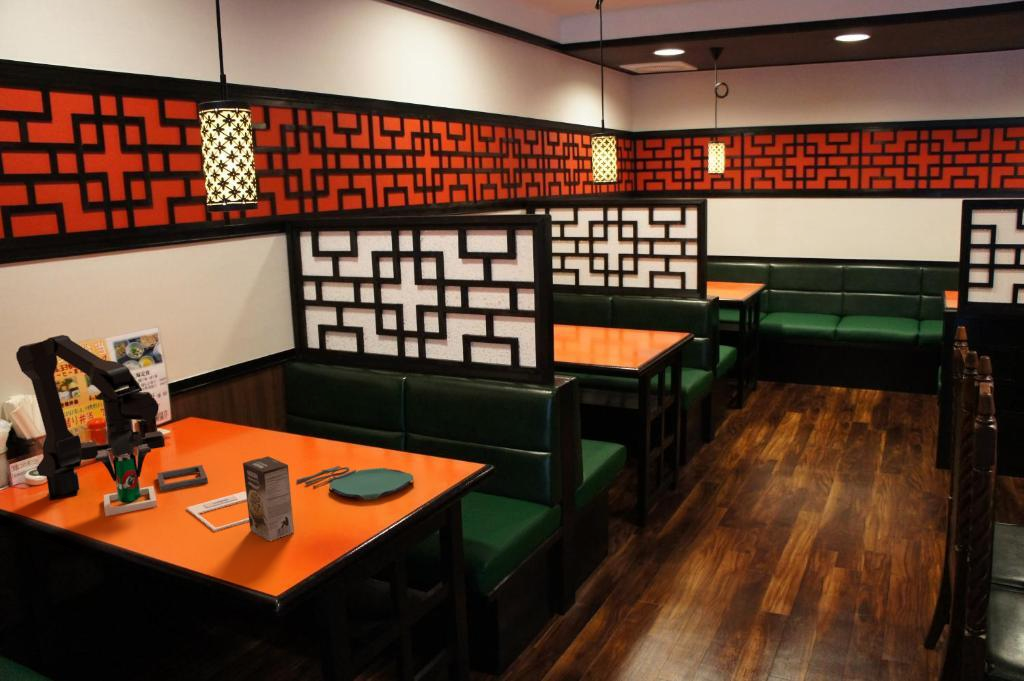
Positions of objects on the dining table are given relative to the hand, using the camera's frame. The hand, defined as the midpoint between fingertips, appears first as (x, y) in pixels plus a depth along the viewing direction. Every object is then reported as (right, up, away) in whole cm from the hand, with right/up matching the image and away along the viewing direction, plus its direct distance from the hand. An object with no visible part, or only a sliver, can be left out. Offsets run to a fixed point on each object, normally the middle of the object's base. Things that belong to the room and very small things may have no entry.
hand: (126, 478), depth 203 cm
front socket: (0, -6, +1) cm, 6 cm away
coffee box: (+41, -9, -19) cm, 46 cm away
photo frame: (+28, -7, -6) cm, 29 cm away
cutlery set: (+55, -3, +9) cm, 56 cm away
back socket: (+7, -3, +16) cm, 18 cm away
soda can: (0, -6, +1) cm, 6 cm away
